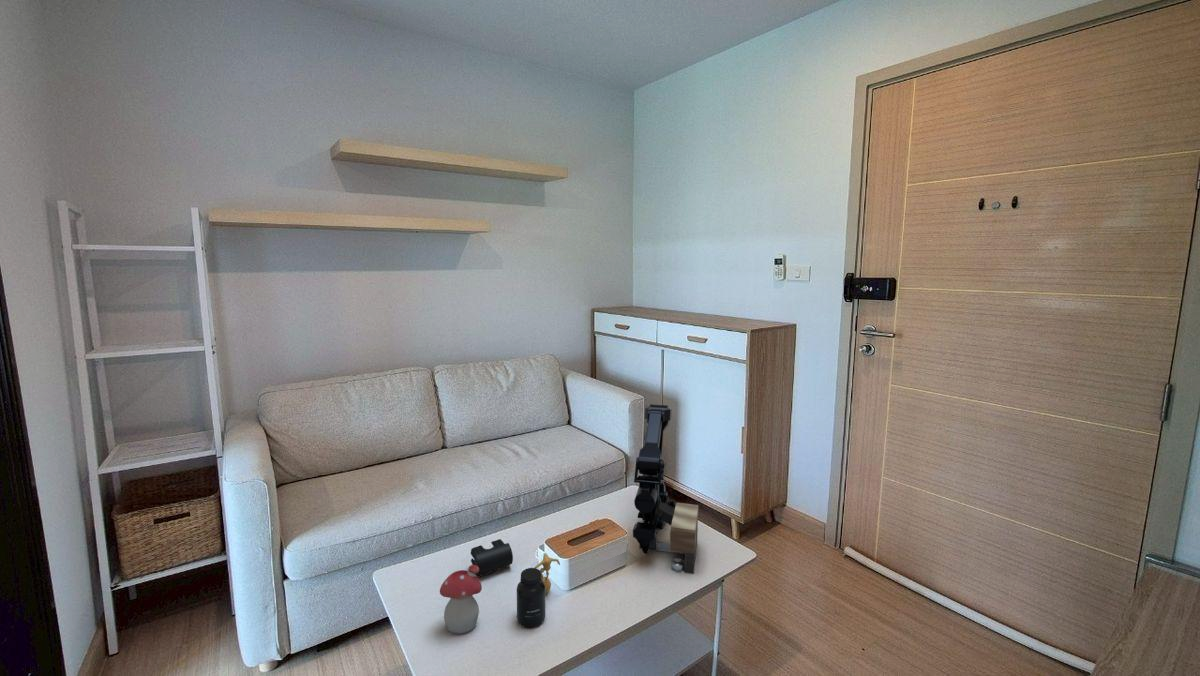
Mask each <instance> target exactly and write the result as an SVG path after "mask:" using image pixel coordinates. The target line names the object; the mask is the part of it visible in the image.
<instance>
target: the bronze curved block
mask: <svg viewBox="0 0 1200 676" xmlns="http://www.w3.org/2000/svg"><path fill="white" fill-rule="evenodd" d="M675 503H676V506H675V511H674V515H673V520H672V524H671V525H670V528H669V542H668V543H669V548H670V550H671V551H678V552H685V554H684V571H683V572H684V573H686V574H691V575H692V574H693V575H694V573H695V567H696V566H695V565H696V559H697V551H698V550H697V549H698V534H699V533H698V531H699V525H698V523H699V505H698V504H692V503H684V502H683V503H682V502H675Z"/></svg>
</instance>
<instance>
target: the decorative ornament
mask: <svg viewBox="0 0 1200 676" xmlns="http://www.w3.org/2000/svg"><path fill="white" fill-rule="evenodd" d="M478 572H479V567H478V566H476V565H473V564H471V565H470V566H468V570H466V569H461V570H456V571H454V572H452V573H451V574H449V575H448V576H447V578H446V579H444V581H443V582H442V584H441V585H440V588H439V594H440V596H441V597H444V598H449V600H448V602H447V604H446V605H445V608H444V612H443V618H444V623H445V626H446V629H447V630H448V631H449V632H451V633H453V634H466V633H468V632H470V631H473V630H474V628H476V625H477V622H478V619H479V614H480V610H479V604H478V601H477V600H476V598H475V597H474V596H473V595H477V594H480V593H481V592H482V588H483V585H482V583H481V581H480V579H479V578H478V577H477V576H476V575H475V574H477V573H478Z"/></svg>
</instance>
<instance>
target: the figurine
mask: <svg viewBox="0 0 1200 676" xmlns="http://www.w3.org/2000/svg"><path fill="white" fill-rule="evenodd" d="M552 562H556V563H557V565H559V566H561V563H560V560H559V559H557V558H552V557H549V555H548V554H547V552H545V553H543V557H542V560H541V561H540V562H539V563H537V565H536V566H534V567H533V568H536V569H538V568H539V567H540V569H539V570H540V572H541V580H542V581H543V582H544V584H545V594H547V593H549V591H550V590H551V587H552V582H551V580H550V578H549V576H550V574H549V571H550V570H551V564H552ZM541 566H543V567H541ZM544 572H546V573H545V575H546V576H544V574H543V573H544Z"/></svg>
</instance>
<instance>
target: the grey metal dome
mask: <svg viewBox="0 0 1200 676" xmlns="http://www.w3.org/2000/svg"><path fill="white" fill-rule="evenodd" d="M670 563H671V564H670V569H671V571H672V572H674V571H675V572H674V573H683V572H684V570H685V560H683V559H681V558H677V557H676V558H672V559H671V562H670ZM682 571H683V572H682Z"/></svg>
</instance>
